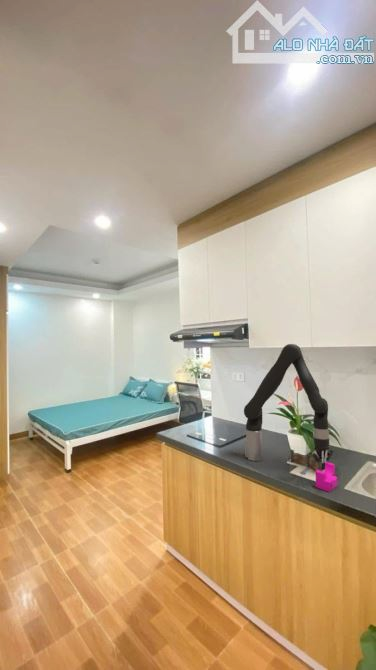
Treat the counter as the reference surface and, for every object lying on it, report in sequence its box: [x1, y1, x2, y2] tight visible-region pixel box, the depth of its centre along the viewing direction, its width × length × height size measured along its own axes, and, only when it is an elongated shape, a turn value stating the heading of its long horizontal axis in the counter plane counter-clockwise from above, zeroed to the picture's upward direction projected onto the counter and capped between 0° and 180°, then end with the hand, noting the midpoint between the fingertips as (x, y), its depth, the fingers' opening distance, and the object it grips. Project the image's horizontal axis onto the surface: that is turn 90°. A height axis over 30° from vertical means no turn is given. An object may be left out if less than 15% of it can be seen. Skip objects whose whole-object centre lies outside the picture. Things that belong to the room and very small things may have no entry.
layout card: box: [286, 459, 324, 483], centre depth 149 cm, size 22×16×1 cm
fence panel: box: [309, 457, 322, 472], centre depth 146 cm, size 9×2×6 cm, turn 12°
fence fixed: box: [290, 449, 311, 467], centre depth 155 cm, size 11×2×7 cm, turn 44°
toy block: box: [315, 461, 338, 493], centre depth 134 cm, size 15×6×8 cm, turn 134°
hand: (322, 469), depth 146 cm, fingers closed
